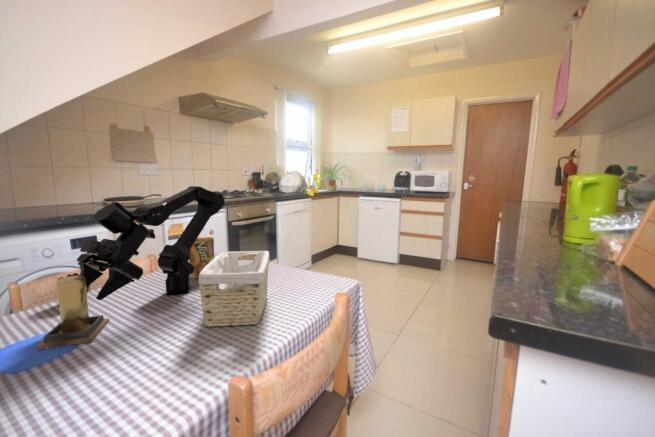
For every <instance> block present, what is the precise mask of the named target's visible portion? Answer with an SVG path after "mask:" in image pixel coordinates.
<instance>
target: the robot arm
mask: <svg viewBox="0 0 655 437" xmlns="http://www.w3.org/2000/svg"><path fill="white" fill-rule="evenodd" d="M194 201H195V202H197V210H196V212H195V213H194V215H193V216H192V218H191V219H190V221H189V223H188V224H187V225H186V227H185V228H184V230H183V231H182V233H181V234H180V236H179V237H178V239H177V240H176V242H175V243H173V244H165V245H164V247H163V248H162V251H161V252H160V253H158V259H157V266H158V267H159V269H160V270H161V272H162V273H163V274H165V275H166V278H165V282H164V283H165V291H166V296H172V295H173V296H175V295H184V294H189V293H190V291H191V289H192V285H191V280H190V279H191V278H190V274H192V273H193V272H194V268H195V267H194V266H193V265H192V264H190V263H189V259H190V249H191V247H192V245H193V244H194V242H195V241H196V239H197V238H198V237H200V234H201V233H202V231H203V230H204V228H205V226H206V225H207V223H208V222H209V220H210V218H211V217H212V216H214V215H216V214H217V213H218V212H220V211H221V209H222V208H223V207H224V205H225V198H224V195H222V194H221V193H218V192H217V193H216V192H214V191H211V190H208V189H206V188H204V187H202V186H200V185H199V186H198V185H197V186H196V185H190V186H188V187H187V188H186V189H183V190H181V191H180V192H177V193H175V194H173V195H171V196H169V197H167V198H165V199H163V200H161V201H158V202H157V201H156V202H152V203H151V202H150V203H147V204H144V205H143V204H142V205H139V206H138V207H136V208H135V209H134V210H132V211H129V210H127V209H126V208H125V207H124V206H123V205H122V204H121V202H119V201H112V202H111V203H110V204H108V205H105V206H104V207H102V208H101V209H98V210H97V211H96V212H95V214H94V216H93V221H94V222H96V223H97V224H99V225H100V226H101V227H103V228H105V229H106V230H107V231H109V233H110V232H111V233H112V234H115V235H117V234H119V235H118V237H117V238H116V239H115V240H114V239H109V238H108V239H107V238H103V239H101V241H98V240H94V239H93V240H92V239H86V238H85V239H84V240H83V242H82V245H81V246H80V250H79V252H80V253H81V252H82V253H81V254H80V255H79V256H78V258H76V262H77V266H79V268H80V274H79V275H80V276H85V282H86V288H87V287H88V286H89V285H90V286H91V285H92V284H93V283H94V282H95V281H96V280H98V279H99V278H100V277H102V276H103V275H104V273H103V272H105V271H107V269H108V278H107V279H106V281H105V282H104V283H103V286H102V287H101V289H100V290H99V292H98V294H97V296H96V297H95V299H96V300H98V301H102V300H103V299H105V298H107V297H108V296H110V295H111V294H113V293H115V292H116V291H118V290H120V289H121V288H123V287H124V286H127V285H128V284H130V283H134V282H135V281H139V280H140V279H141V278H142V276H143V275H144V269H143V268H142V267H140V266H139V265H138V264H136V263H134V262H132V261H131V259H132V257H133V256H136V257H138V255H139V254H140V252H139V251H138V249H139V248H140V247H141V246H142V244H143V243H144V241H146V239H153V240H154V239H156V234H155V230H154V229H152V228H147V227H146V226H150V227H151V226H152V227H158V226H161V225H163V224H164V223H165V222H166V221H167V220H168V219H169V218H170V216H171V214H173V213H174V212H176V211H179V209H181V208H183V207H185V206H187V205H189V204H190V203H192V202H194Z"/></svg>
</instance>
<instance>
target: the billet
mask: <svg viewBox="0 0 655 437" xmlns="http://www.w3.org/2000/svg"><path fill="white" fill-rule="evenodd" d="M55 283H56V289H57V291H56V292H57V297H58V298H57V299H58V307H59V315H60V316H59V317H60V322H61V327H62V333H69V332H77V331H85V330H87V329H88V328H89V327H90V323H89V317H90V315H89V314H90V313H89V304H88V293H87V292H86V282H85V276H70V277H67V276H66V277H65V276H64V277H63V278H61V279H59V280H58V279H57V280H56V282H55Z"/></svg>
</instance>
